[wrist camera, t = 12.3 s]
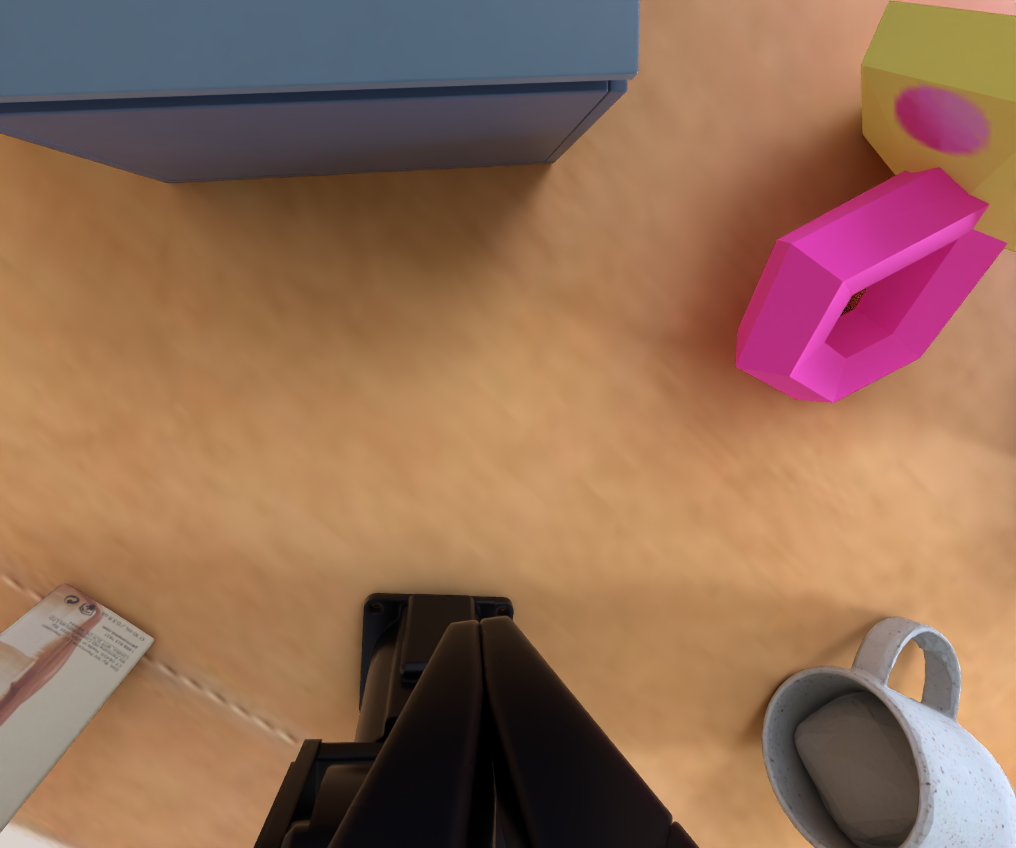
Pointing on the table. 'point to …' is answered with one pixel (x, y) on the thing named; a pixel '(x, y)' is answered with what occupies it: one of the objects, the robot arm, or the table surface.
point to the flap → (305, 45)
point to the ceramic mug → (884, 754)
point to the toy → (898, 211)
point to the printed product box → (56, 684)
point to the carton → (318, 129)
